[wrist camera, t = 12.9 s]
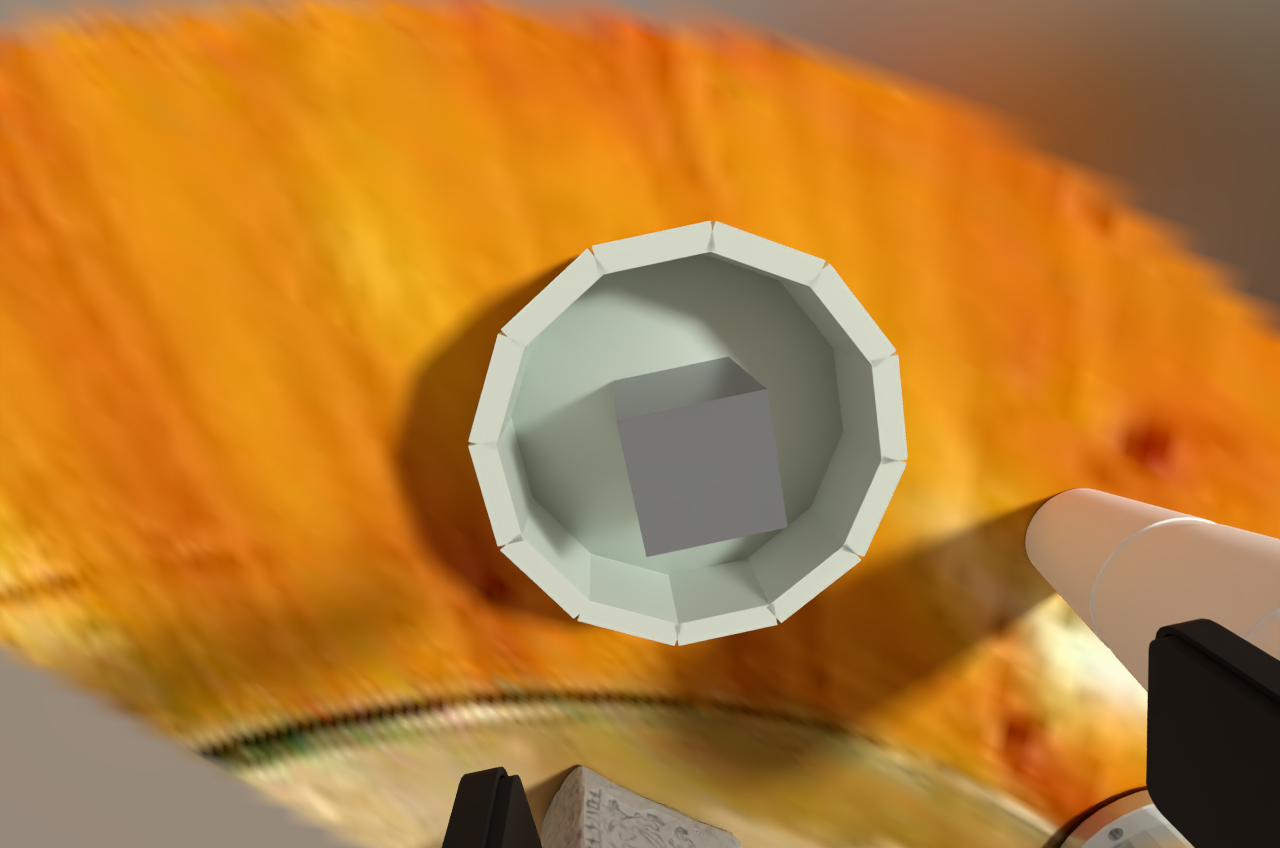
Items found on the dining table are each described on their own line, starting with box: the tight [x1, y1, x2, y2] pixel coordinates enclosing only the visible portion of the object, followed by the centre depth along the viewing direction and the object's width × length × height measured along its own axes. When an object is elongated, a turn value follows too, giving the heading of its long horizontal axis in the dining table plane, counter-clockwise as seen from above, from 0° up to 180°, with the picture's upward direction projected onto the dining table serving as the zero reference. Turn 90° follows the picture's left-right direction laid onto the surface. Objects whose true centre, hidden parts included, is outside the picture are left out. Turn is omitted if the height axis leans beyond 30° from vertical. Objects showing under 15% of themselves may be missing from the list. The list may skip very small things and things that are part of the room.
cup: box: [1025, 488, 1280, 692], centre depth 23 cm, size 11×11×18 cm
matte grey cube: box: [613, 356, 788, 557], centre depth 24 cm, size 5×5×6 cm
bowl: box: [468, 221, 908, 646], centre depth 26 cm, size 16×16×5 cm
